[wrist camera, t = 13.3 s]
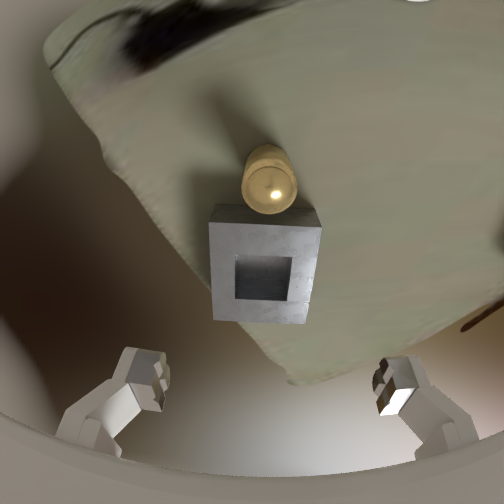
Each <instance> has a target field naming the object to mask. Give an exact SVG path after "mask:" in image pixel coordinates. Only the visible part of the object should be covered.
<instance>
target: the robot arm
mask: <svg viewBox="0 0 504 504" xmlns="http://www.w3.org/2000/svg"><path fill="white" fill-rule="evenodd" d="M408 1H418V2H419V1H428V0H408ZM165 362H166V355H165V353H163V352H157V351H150V350H144V349H138V348H131V347H126V348H125V349H124V351H123V353H122V355H121V358H120V360H119V363H118V365H117V367H116V370H115V372H114V375H113V377H112V380H111V379H108V380H106V381H105V382H104V383H102V384H101V385H99V386H98V387H97V388H95V389H94V390H93V391H91V392H90V393H89V394H87V395H86V396H84V397H83V398H82V399H80V400H79V401H78V402H76V403H75V404H73V405H72V406H71V407H69V408H68V409H66V411H65V413H64V416H63V418H62V420H61V423H60V425H59V428H58V430H57V433H56V435H55V437H54V436H51V435H49V434H47V433H44V432H42V431H39V430H37V429H35V428H32V427H30V426H28V425H26V424H23V423H21V422H19V421H17V420H15V419H13V418H11V417H9V416H7V415H5V414H3V413H1V412H0V504H504V430H503V431H501V432H499V433H497V434H494V435H492V436H490V437H487V438H484V439H482V440H479V437H478V435H477V432H476V429H475V427H474V424H473V421H472V418H471V416H470V415H469V414H468V413H467V412H465V411H464V410H463V409H462V408H460V407H459V406H458V405H457V404H456V403H454V402H453V401H452V400H451V399H450V398H448V397H447V396H446V395H445V394H443V393H442V392H441V391H440V390H439V389H437V388H436V387H435V386H431V385H430V382H429V380H428V377H427V375H426V373H425V370H424V367H423V365H422V363H421V361H420V358H419V356H418V355H409V356H396V357H384V358H382V359H381V361H380V363H379V365H380V368H379V369H377V370H376V371H375V373H374V375H373V380H372V386H373V391H374V393H375V394H376V395H377V396H378V399H377V401H376V403H377V407H378V411H379V415H388V414H397V413H398V415H399V416H400V417H401V418H402V419H403V421H404V422H405V423H406V424H407V425H408V426H409V427H410V429H411V430H412V431H413V432H414V433H415V434H416V435H417V436H418V438H419V439H420V440H421V441H422V442H423V444H422V445H421V446H420V447H419V448H418V449H417V450H416V451H415V458H416V460H415V461H410V462H406V463H402V464H397V465H392V466H387V467H382V468H376V469H370V470H364V471H357V472H349V473H341V474H331V475H319V476H302V477H245V476H228V475H215V474H206V473H197V472H190V471H182V470H176V469H170V468H164V467H158V466H154V465H149V464H144V463H139V462H135V461H131V460H126V459H123V458H120V455H121V451H122V450H121V448H120V447H119V445H118V444H117V443H116V442H115V441H114V439H113V438H114V437H115V436H116V435H117V434H118V433H119V432H120V431H121V430H122V428H124V427H125V426H126V425H127V424H128V423H129V422H130V421H131V420H132V419H133V418H134V417H135V416H136V415H137V414H138V413H139V412H140V411H141V409H145V410H152V411H158V412H162V409H163V406H164V402H165V395H164V391H165V390H166V389H168V386H169V380H170V370H169V366H168V365H167V364H166V363H165Z"/></svg>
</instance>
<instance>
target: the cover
mask: <svg viewBox="0 0 504 504" xmlns="http://www.w3.org/2000/svg"><path fill="white" fill-rule="evenodd" d="M241 190H242V195H243V198H244V200H245V202H246V203H247V204H248V205H249V206H250V207H251V208H252V209H254V210H255V211H257V212H260V213H263V214H275V213H279V212H282V211H284V210H285V209H287V208H288V207H289V206H290V205H291V204H292V203H293V201H294V200H295V198H296V195H297V181H296V178H295V175H294V172H293V169H292V166H291V163H290V160H289V158H288V156H287V154H286V153H285V152H284V151H283V150H282V149H281V148H279V147H277V146H275V145H261V146H259V147H257V148H255V149H254V150H253V151H252V152H251V153H250V154H249V156H248V158H247V161H246V165H245V170H244V175H243V180H242V186H241Z"/></svg>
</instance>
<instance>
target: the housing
mask: <svg viewBox="0 0 504 504" xmlns="http://www.w3.org/2000/svg"><path fill="white" fill-rule="evenodd" d="M321 231H322V226H321V224H320V221H319V218H318V216H317V213H316V210H315V209H303V208H287V209H285V210H284V211H282V212H279V213H275V214H263V213H260V212H257V211H255V210H254V209H252V208H251V207H250V206H245V205H217V204H215V207H214V209H213V212H212V215H211V217H210V220H209V245H210V268H211V287H212V305H213V319H214V320H224V321H241V322H262V323H292V324H305V321H306V316H307V311H308V306H309V301H310V296H311V290H312V285H313V279H314V274H315V268H316V262H317V256H318V250H319V244H320V238H321Z"/></svg>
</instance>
